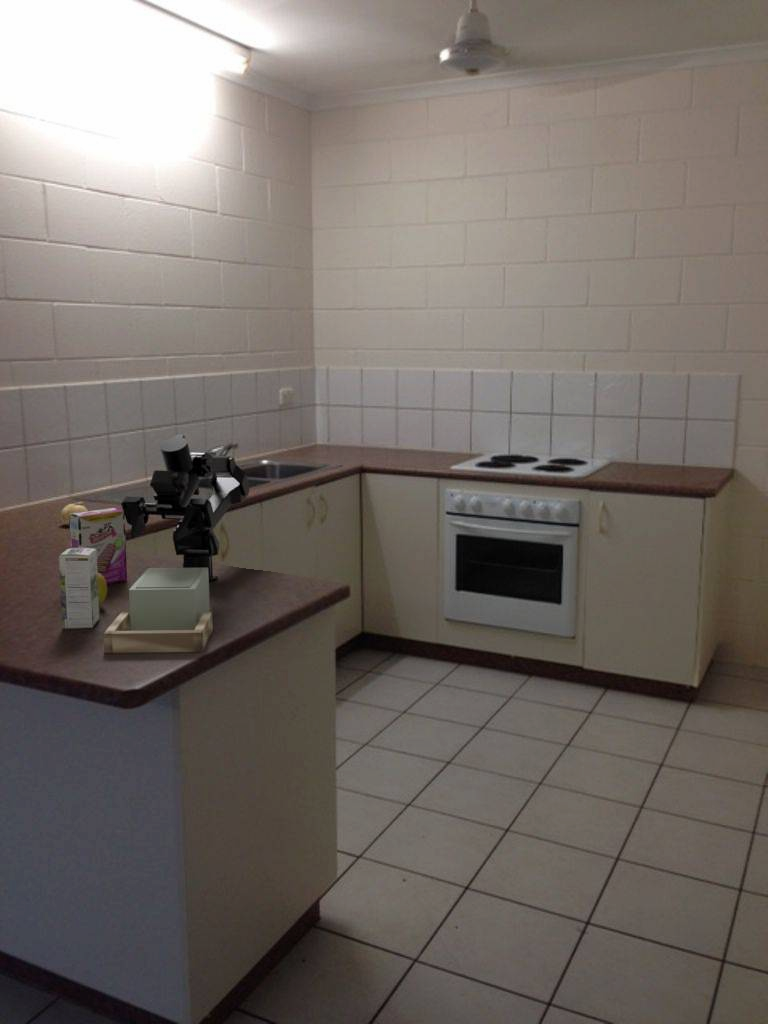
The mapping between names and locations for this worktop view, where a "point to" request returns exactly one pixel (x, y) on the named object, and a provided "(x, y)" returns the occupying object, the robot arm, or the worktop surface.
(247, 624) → the worktop surface
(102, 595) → the lemon
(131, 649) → the wooden tray
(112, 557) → the candy bar box
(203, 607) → the tub
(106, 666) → the worktop surface
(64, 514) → the onion
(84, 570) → the syrup box
